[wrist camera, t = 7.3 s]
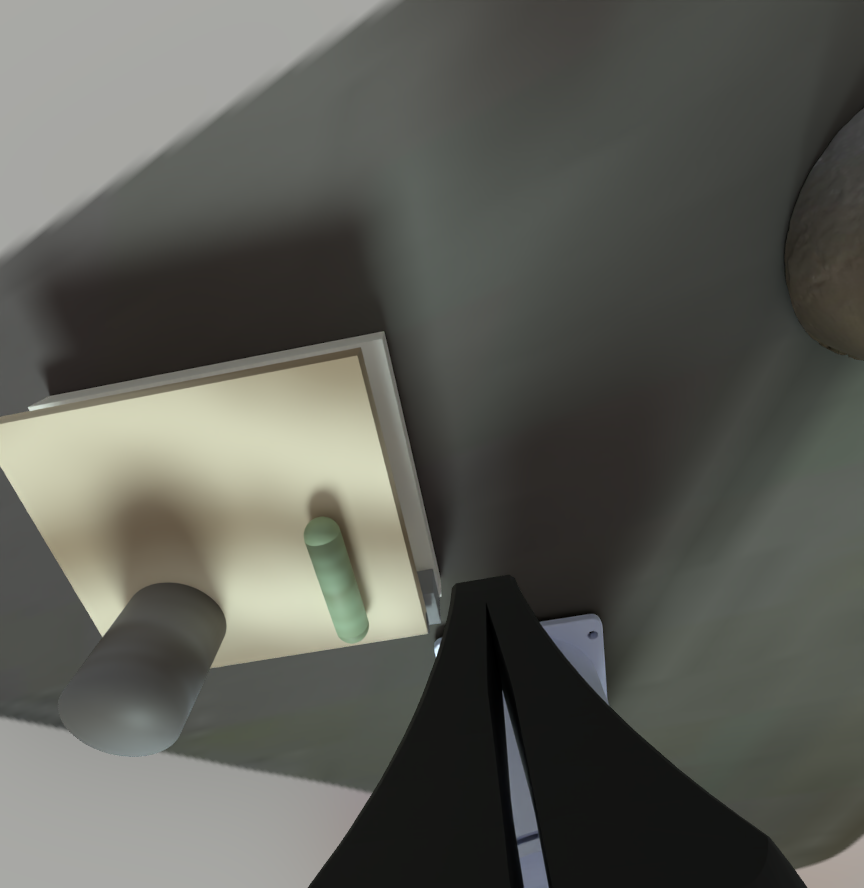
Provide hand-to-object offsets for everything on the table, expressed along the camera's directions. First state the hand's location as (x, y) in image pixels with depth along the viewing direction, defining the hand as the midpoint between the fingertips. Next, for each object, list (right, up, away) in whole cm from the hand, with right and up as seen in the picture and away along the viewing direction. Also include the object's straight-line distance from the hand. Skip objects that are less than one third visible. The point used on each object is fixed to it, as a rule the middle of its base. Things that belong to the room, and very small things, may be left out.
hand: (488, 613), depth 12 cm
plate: (-8, +1, +7) cm, 11 cm away
